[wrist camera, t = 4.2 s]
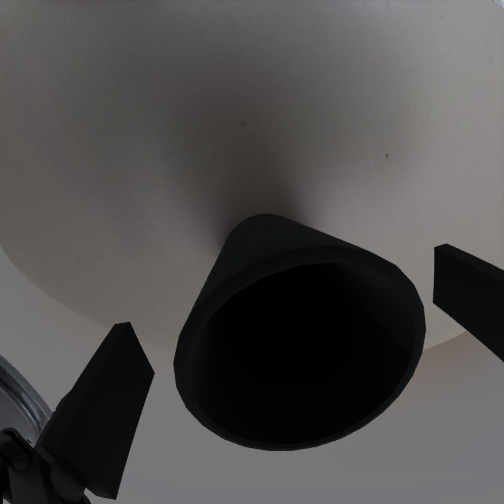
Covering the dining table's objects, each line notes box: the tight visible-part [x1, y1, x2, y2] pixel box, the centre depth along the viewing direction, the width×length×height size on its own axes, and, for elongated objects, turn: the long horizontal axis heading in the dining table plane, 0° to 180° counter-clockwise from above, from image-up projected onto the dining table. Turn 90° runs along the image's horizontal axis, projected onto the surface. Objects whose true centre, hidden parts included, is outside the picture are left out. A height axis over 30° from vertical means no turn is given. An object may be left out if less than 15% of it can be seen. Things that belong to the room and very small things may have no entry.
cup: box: [173, 214, 426, 451], centre depth 13 cm, size 8×8×12 cm
